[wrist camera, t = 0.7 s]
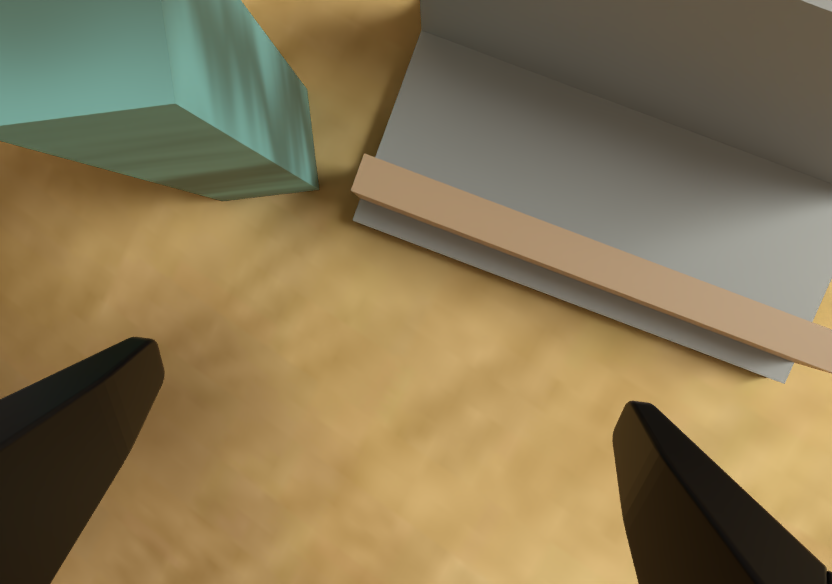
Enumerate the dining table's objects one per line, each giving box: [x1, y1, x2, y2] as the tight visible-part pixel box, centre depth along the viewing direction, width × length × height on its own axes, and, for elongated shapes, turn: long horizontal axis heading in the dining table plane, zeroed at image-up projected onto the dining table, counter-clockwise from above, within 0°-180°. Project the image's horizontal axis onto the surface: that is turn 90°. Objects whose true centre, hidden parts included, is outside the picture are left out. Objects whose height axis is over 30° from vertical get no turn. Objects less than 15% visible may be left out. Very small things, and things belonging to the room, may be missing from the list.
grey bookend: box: [351, 0, 832, 384], centre depth 17 cm, size 11×20×10 cm, turn 69°
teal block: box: [0, 0, 319, 201], centre depth 16 cm, size 4×4×12 cm
